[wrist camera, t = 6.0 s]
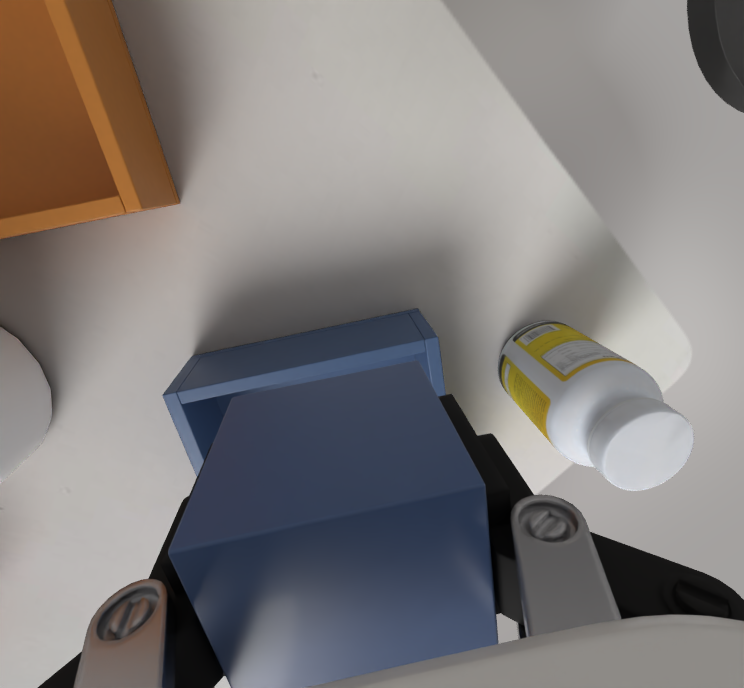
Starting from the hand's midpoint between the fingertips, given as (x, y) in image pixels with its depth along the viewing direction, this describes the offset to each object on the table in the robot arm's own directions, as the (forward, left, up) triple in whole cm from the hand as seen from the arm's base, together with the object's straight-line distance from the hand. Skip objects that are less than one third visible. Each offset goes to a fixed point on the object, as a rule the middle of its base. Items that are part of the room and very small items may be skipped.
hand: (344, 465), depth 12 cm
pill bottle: (-14, +8, -18) cm, 24 cm away
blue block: (0, 0, 0) cm, 0 cm away
